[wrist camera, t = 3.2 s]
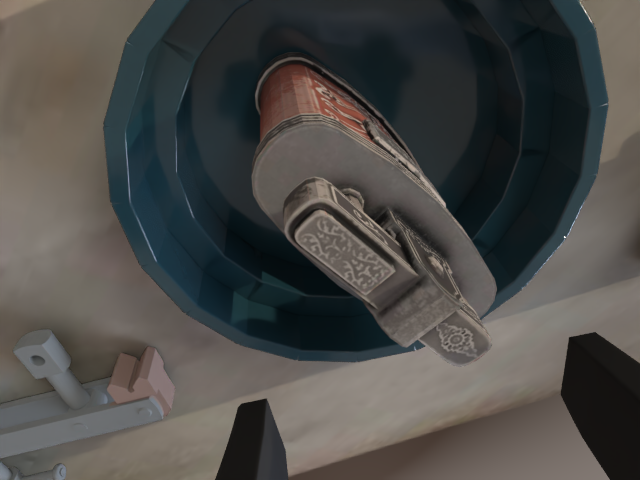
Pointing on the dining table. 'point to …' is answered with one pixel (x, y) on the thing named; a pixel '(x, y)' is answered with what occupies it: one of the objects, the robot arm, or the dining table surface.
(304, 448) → the dining table surface
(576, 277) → the dining table surface
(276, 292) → the bowl
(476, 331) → the lighter
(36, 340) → the clamp
